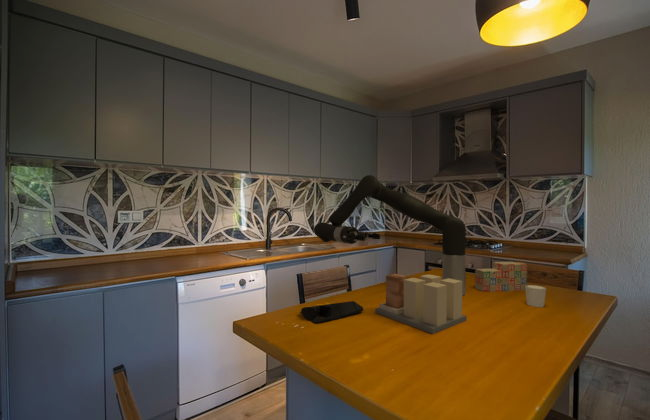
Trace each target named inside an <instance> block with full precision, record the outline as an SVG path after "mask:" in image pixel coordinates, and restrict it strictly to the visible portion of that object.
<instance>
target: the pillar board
mask: <svg viewBox="0 0 650 420" xmlns="http://www.w3.org/2000/svg"><path fill="white" fill-rule="evenodd" d="M419 276H420V278H416V277H410V278H406V279H405V280H404V307H403V308H399V309H395V308H392V307H389V306H386V302H382V303H379V307H376V308H375V309H374V313H375V314H378V315H380V316H384V317H386V318H389V319H392V320H394V321H397V322H399V323H403V324H404V325H407V326H410V327H413V328H416V329H419V330H422V332H426V333H429V334H432V335H434V334H436V333H438V332H441V331H443V330H446V329H449V328H452V327H454V326H456V325H458V324H461V323H464V322H466V321H467V315H464V314H463V296H462V281H459V280H454V279H450V278H448V279H444V280H442V276H439V275H435V274H423V275H419Z"/></svg>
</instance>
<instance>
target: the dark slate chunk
mask: <svg viewBox="0 0 650 420" xmlns="http://www.w3.org/2000/svg"><path fill="white" fill-rule="evenodd" d="M363 311H364V307H363V306H362V305H360V304H358V302H356V301H355V300H354V301H353V300H352V301H351V300H350V301H344V302H343V301H342V302H336V303H328V304H319V305H312V306H311V305H310V306H304V307H301V310H300V311H299V313H300V314H301V315H302V317H303V318H304V319H306V321H309V322H311V323H314V324H317V325H318V324H321V323H326V322H331V321H335V320H338V319H341V318H345V317H346V318H347V317H350V316H354V315H356V314H359V313H361V312H363Z"/></svg>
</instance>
